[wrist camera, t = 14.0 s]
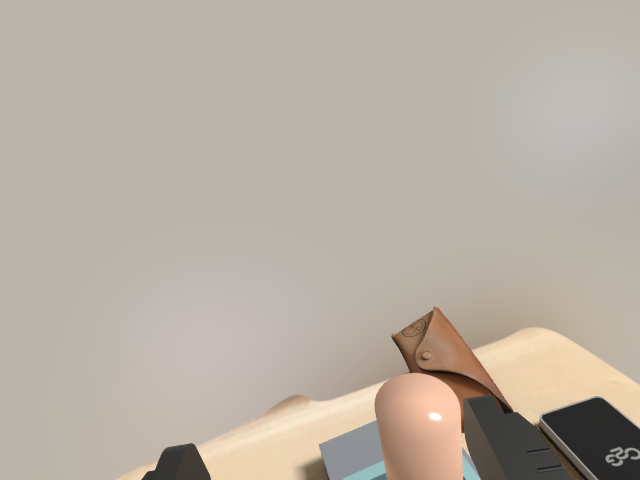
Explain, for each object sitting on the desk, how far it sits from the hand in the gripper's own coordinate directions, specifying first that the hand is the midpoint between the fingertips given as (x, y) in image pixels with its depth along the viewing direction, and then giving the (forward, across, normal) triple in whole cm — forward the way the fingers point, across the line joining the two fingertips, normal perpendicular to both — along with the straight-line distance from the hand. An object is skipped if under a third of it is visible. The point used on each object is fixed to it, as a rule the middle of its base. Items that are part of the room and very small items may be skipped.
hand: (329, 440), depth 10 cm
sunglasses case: (+26, -11, +26) cm, 38 cm away
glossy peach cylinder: (+8, -4, +22) cm, 24 cm away
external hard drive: (+12, -21, +26) cm, 35 cm away
